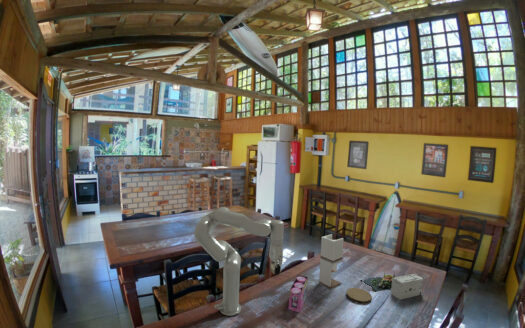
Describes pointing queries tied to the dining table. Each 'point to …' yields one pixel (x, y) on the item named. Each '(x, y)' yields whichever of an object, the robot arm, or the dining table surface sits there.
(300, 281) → the gum box
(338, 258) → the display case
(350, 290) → the tan round disc
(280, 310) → the dining table surface
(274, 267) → the ash cube
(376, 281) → the plated dish
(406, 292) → the concrete block
